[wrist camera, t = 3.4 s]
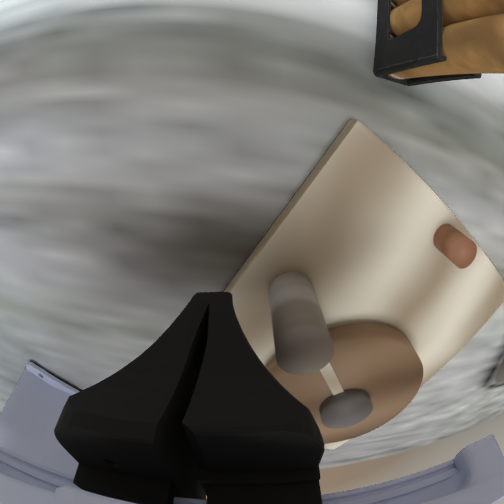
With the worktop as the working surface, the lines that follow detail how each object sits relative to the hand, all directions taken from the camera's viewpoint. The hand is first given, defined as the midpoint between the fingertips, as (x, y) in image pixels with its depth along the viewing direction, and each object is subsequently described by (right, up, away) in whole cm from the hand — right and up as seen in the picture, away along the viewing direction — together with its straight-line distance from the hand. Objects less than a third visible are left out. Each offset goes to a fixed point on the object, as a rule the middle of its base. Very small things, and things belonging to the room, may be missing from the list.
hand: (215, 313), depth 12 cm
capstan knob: (+6, -4, +4) cm, 8 cm away
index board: (+7, -3, +5) cm, 9 cm away
